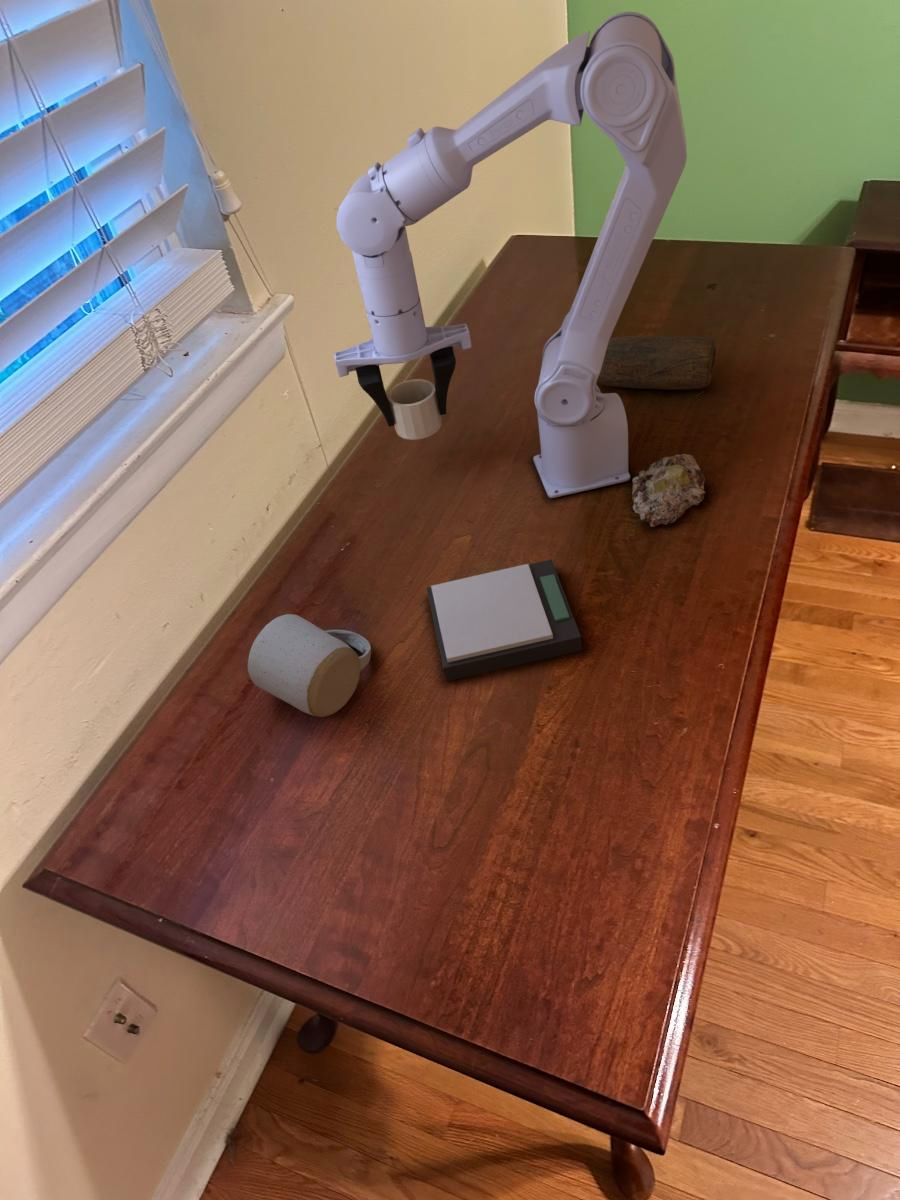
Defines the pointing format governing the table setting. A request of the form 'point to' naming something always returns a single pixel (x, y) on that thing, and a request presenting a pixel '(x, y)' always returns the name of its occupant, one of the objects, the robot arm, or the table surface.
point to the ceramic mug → (307, 664)
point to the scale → (502, 620)
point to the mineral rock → (668, 489)
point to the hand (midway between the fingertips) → (416, 415)
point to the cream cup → (415, 409)
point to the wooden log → (658, 362)
